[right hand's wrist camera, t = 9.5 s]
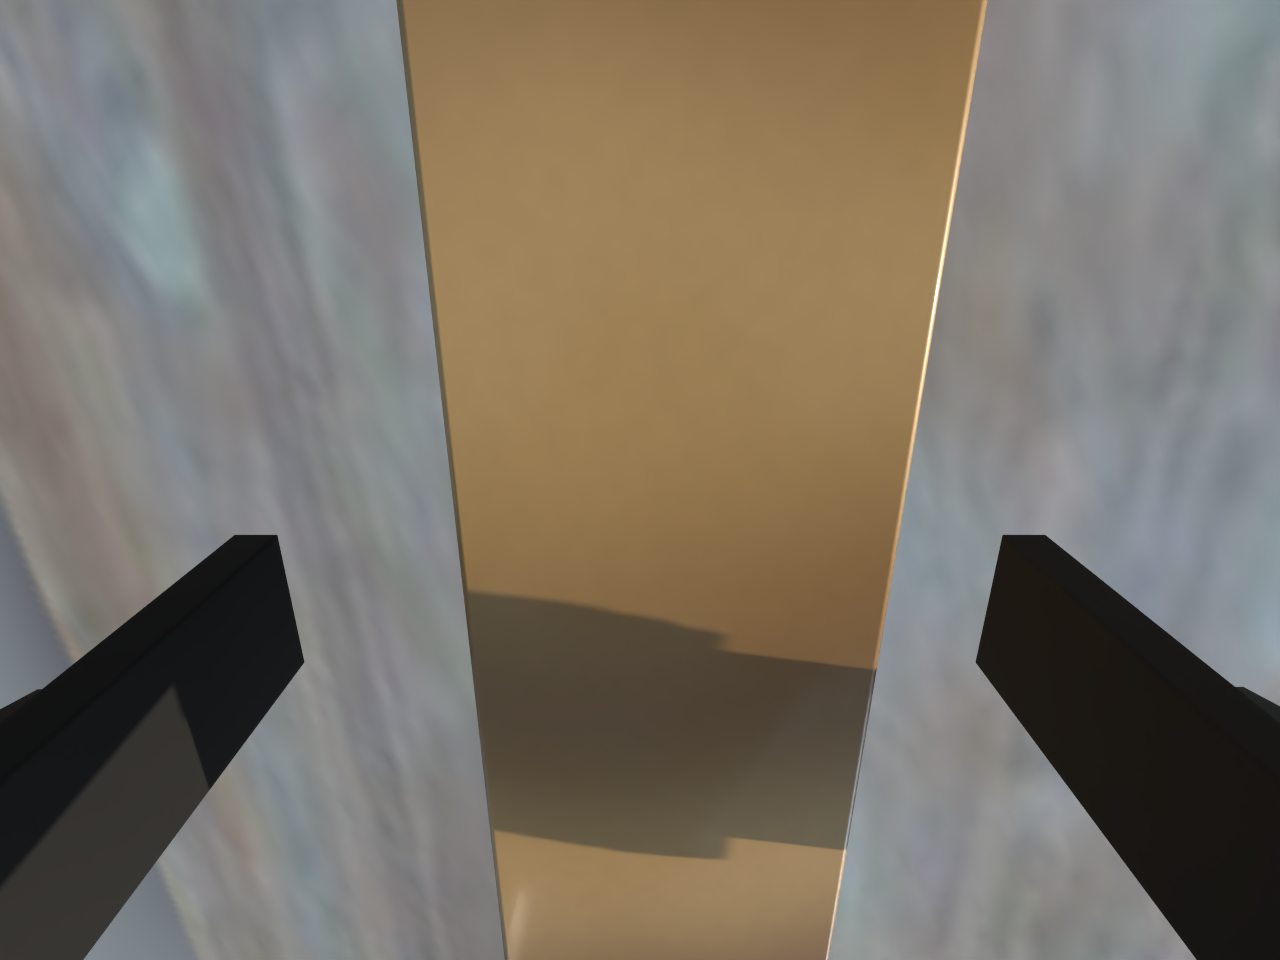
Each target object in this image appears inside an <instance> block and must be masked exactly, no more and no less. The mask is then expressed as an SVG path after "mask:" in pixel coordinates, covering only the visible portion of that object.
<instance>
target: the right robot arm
mask: <svg viewBox="0 0 1280 960" xmlns="http://www.w3.org/2000/svg"><path fill="white" fill-rule="evenodd" d="M303 663H304V658H303V654H302V649H301V644H300V640H299V635H298V630H297V626H296V621H295V616H294V611H293V607H292V602H291V597H290V593H289V588H288V583H287V579H286V574H285V569H284V565H283V560H282V555H281V550H280V546H279V541H278V536H277V535H234V536H233V537H232V538H230V539H229V540H228V541H227V542H225V543H224V544H223V545H222V546H221V547H219V548H218V549H217V550H216V551H214V552H213V553H212V554H211V555H209V556H208V557H207V558H206V559H204V560H203V561H202V562H201V563H199V564H198V565H197V566H196V567H194V568H193V569H192V570H191V571H189V572H188V573H187V574H186V575H184V576H183V577H182V578H181V579H179V580H178V581H177V582H176V583H174V584H173V585H172V586H171V587H169V588H168V589H167V590H166V591H164V592H163V593H162V594H161V595H159V596H158V597H157V598H156V599H154V600H153V601H152V602H151V603H149V604H148V605H147V606H146V607H144V608H143V609H142V610H141V611H139V612H138V613H137V614H136V615H134V616H133V617H132V618H131V619H129V620H128V621H127V622H126V623H124V624H123V625H122V626H121V627H119V628H118V629H117V630H116V631H114V632H113V633H112V634H111V635H109V636H108V637H107V638H106V639H104V640H103V641H102V642H101V643H99V644H98V645H97V646H96V647H94V648H93V649H92V650H91V651H89V652H88V653H87V654H86V655H84V656H83V657H82V658H81V659H79V660H78V661H77V662H76V663H74V664H73V665H72V666H71V667H69V668H68V669H67V670H66V671H64V672H63V673H62V674H61V675H59V676H58V677H57V678H56V679H54V680H53V681H52V682H51V683H49V684H48V685H47V686H46V687H44V688H43V689H38V690H36V691H34V692H32V693H30V694H28V695H26V696H25V697H23V698H21V699H19V700H17V701H15V702H13V703H11V704H9V705H8V706H6V707H4V708H2V709H0V960H83V959H84V958H85V957H86V955H87V954H88V953H89V951H90V950H91V949H92V947H93V946H94V945H95V943H96V942H97V941H98V939H99V938H100V936H101V935H102V934H103V932H104V931H105V930H106V928H107V927H108V926H109V924H110V923H111V922H112V920H113V919H114V918H115V916H116V915H117V914H118V912H119V911H120V910H121V908H122V907H123V906H124V904H125V903H126V901H127V900H128V899H129V897H130V896H131V895H132V893H133V892H134V891H135V889H136V888H137V887H138V885H139V884H140V883H141V881H142V880H143V879H144V877H145V876H146V875H147V873H148V872H149V871H150V869H151V868H152V867H153V865H154V864H155V862H156V861H157V860H158V858H159V857H160V856H161V854H162V853H163V852H164V850H165V849H166V848H167V846H168V845H169V844H170V842H171V841H172V840H173V838H174V837H175V836H176V834H177V833H178V832H179V830H180V829H181V827H182V826H183V825H184V823H185V822H186V821H187V819H188V818H189V817H190V815H191V814H192V813H193V811H194V810H195V809H196V807H197V806H198V805H199V803H200V802H201V801H202V799H203V798H204V797H205V795H206V794H207V793H208V791H209V790H210V788H211V787H212V786H213V784H214V783H215V782H216V780H217V779H218V778H219V776H220V775H221V774H222V772H223V771H224V770H225V768H226V767H227V766H228V764H229V763H230V762H231V760H232V759H233V758H234V756H235V755H236V753H237V752H238V751H239V749H240V748H241V747H242V745H243V744H244V743H245V741H246V740H247V739H248V737H249V736H250V735H251V733H252V732H253V731H254V729H255V728H256V727H257V725H258V724H259V723H260V721H261V720H262V719H263V717H264V716H265V714H266V713H267V712H268V710H269V709H270V708H271V706H272V705H273V704H274V702H275V701H276V700H277V698H278V697H279V696H280V694H281V693H282V692H283V690H284V689H285V688H286V686H287V685H288V684H289V682H290V681H291V679H292V678H293V677H294V675H295V674H296V673H297V671H298V670H299V669H300V667H301V666H302V665H303ZM976 663H977V665H978V666H979V667H980V669H981V670H982V671H983V673H984V674H985V675H986V677H987V678H988V679H989V681H990V682H991V684H992V685H993V686H994V688H995V689H996V690H997V692H998V693H999V694H1000V696H1001V697H1002V698H1003V700H1004V701H1005V702H1006V704H1007V705H1008V706H1009V708H1010V709H1011V710H1012V712H1013V713H1014V714H1015V716H1016V717H1017V719H1018V720H1019V721H1020V723H1021V724H1022V725H1023V727H1024V728H1025V729H1026V731H1027V732H1028V733H1029V735H1030V736H1031V737H1032V739H1033V740H1034V741H1035V743H1036V744H1037V745H1038V747H1039V748H1040V749H1041V751H1042V752H1043V753H1044V755H1045V756H1046V758H1047V759H1048V760H1049V762H1050V763H1051V764H1052V766H1053V767H1054V768H1055V770H1056V771H1057V772H1058V774H1059V775H1060V776H1061V778H1062V779H1063V780H1064V782H1065V783H1066V784H1067V786H1068V787H1069V788H1070V790H1071V791H1072V793H1073V794H1074V795H1075V797H1076V798H1077V799H1078V801H1079V802H1080V803H1081V805H1082V806H1083V807H1084V809H1085V810H1086V811H1087V813H1088V814H1089V815H1090V817H1091V818H1092V819H1093V821H1094V822H1095V823H1096V825H1097V826H1098V827H1099V829H1100V830H1101V832H1102V833H1103V834H1104V836H1105V837H1106V838H1107V840H1108V841H1109V842H1110V844H1111V845H1112V846H1113V848H1114V849H1115V850H1116V852H1117V853H1118V854H1119V856H1120V857H1121V858H1122V860H1123V861H1124V862H1125V864H1126V865H1127V867H1128V868H1129V869H1130V871H1131V872H1132V873H1133V875H1134V876H1135V877H1136V879H1137V880H1138V881H1139V883H1140V884H1141V885H1142V887H1143V888H1144V889H1145V891H1146V892H1147V893H1148V895H1149V896H1150V897H1151V899H1152V900H1153V901H1154V903H1155V904H1156V906H1157V907H1158V908H1159V910H1160V911H1161V912H1162V914H1163V915H1164V916H1165V918H1166V919H1167V920H1168V922H1169V923H1170V924H1171V926H1172V927H1173V928H1174V930H1175V931H1176V932H1177V934H1178V935H1179V936H1180V938H1181V939H1182V941H1183V942H1184V943H1185V945H1186V946H1187V947H1188V949H1189V950H1190V951H1191V953H1192V954H1193V955H1194V957H1195V958H1196V959H1197V960H1280V706H1278V705H1276V704H1274V703H1273V702H1271V701H1269V700H1267V699H1265V698H1263V697H1261V696H1259V695H1257V694H1256V693H1254V692H1252V691H1250V690H1248V689H1246V688H1244V687H1234V686H1233V685H1232V684H1231V683H1229V682H1228V681H1227V680H1226V679H1224V678H1223V677H1222V676H1221V675H1219V674H1218V673H1217V672H1216V671H1214V670H1213V669H1212V668H1211V667H1209V666H1208V665H1207V664H1206V663H1204V662H1203V661H1202V660H1201V659H1199V658H1198V657H1197V656H1196V655H1194V654H1193V653H1192V652H1191V651H1189V650H1188V649H1187V648H1186V647H1184V646H1183V645H1182V644H1181V643H1179V642H1178V641H1177V640H1176V639H1174V638H1173V637H1172V636H1171V635H1169V634H1168V633H1167V632H1166V631H1164V630H1163V629H1162V628H1161V627H1159V626H1158V625H1157V624H1156V623H1154V622H1153V621H1152V620H1151V619H1149V618H1148V617H1147V616H1146V615H1144V614H1143V613H1142V612H1141V611H1139V610H1138V609H1137V608H1136V607H1134V606H1133V605H1132V604H1131V603H1129V602H1128V601H1127V600H1126V599H1124V598H1123V597H1122V596H1121V595H1119V594H1118V593H1117V592H1116V591H1114V590H1113V589H1112V588H1111V587H1109V586H1108V585H1107V584H1106V583H1104V582H1103V581H1102V580H1101V579H1099V578H1098V577H1097V576H1096V575H1094V574H1093V573H1092V572H1091V571H1089V570H1088V569H1087V568H1086V567H1084V566H1083V565H1082V564H1081V563H1079V562H1078V561H1077V560H1076V559H1074V558H1073V557H1072V556H1071V555H1069V554H1068V553H1067V552H1066V551H1064V550H1063V549H1062V548H1061V547H1059V546H1058V545H1057V544H1056V543H1055V542H1053V541H1052V540H1051V539H1050V538H1048V537H1047V536H1046V535H1003V536H1002V541H1001V546H1000V550H999V555H998V560H997V565H996V569H995V574H994V579H993V583H992V588H991V593H990V597H989V602H988V607H987V611H986V616H985V621H984V626H983V630H982V635H981V640H980V644H979V649H978V654H977V658H976Z"/></svg>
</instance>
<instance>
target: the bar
mask: <svg viewBox="0 0 1280 960" xmlns="http://www.w3.org/2000/svg"><path fill="white" fill-rule="evenodd" d="M986 6H987V0H397V9H398V18H399V27H400V35H401V44H402V53H403V62H404V71H405V80H406V89H407V97H408V106H409V115H410V124H411V133H412V142H413V151H414V159H415V168H416V177H417V186H418V195H419V204H420V213H421V221H422V230H423V239H424V248H425V257H426V266H427V275H428V283H429V292H430V301H431V310H432V319H433V328H434V336H435V345H436V354H437V363H438V372H439V381H440V390H441V398H442V407H443V416H444V425H445V434H446V443H447V452H448V460H449V469H450V478H451V487H452V496H453V505H454V514H455V522H456V531H457V540H458V549H459V558H460V567H461V576H462V584H463V593H464V602H465V611H466V620H467V629H468V637H469V646H470V655H471V664H472V673H473V682H474V691H475V699H476V708H477V717H478V726H479V735H480V744H481V753H482V761H483V770H484V779H485V788H486V797H487V806H488V815H489V823H490V832H491V841H492V850H493V859H494V868H495V877H496V885H497V894H498V903H499V912H500V921H501V930H502V938H503V947H504V956H505V960H828V959H829V953H830V947H831V941H832V935H833V929H834V923H835V917H836V911H837V905H838V899H839V893H840V887H841V881H842V875H843V869H844V863H845V857H846V851H847V845H848V839H849V833H850V827H851V821H852V815H853V808H854V802H855V796H856V790H857V784H858V778H859V772H860V766H861V760H862V754H863V748H864V742H865V736H866V730H867V724H868V718H869V712H870V706H871V700H872V694H873V688H874V682H875V676H876V670H877V664H878V658H879V652H880V646H881V640H882V634H883V627H884V621H885V615H886V609H887V603H888V597H889V591H890V585H891V579H892V573H893V567H894V561H895V555H896V549H897V543H898V537H899V531H900V525H901V519H902V513H903V507H904V501H905V495H906V489H907V483H908V477H909V471H910V465H911V459H912V453H913V446H914V440H915V434H916V428H917V422H918V416H919V410H920V404H921V398H922V392H923V386H924V380H925V374H926V368H927V362H928V356H929V350H930V344H931V338H932V332H933V326H934V320H935V314H936V308H937V302H938V296H939V290H940V284H941V278H942V272H943V265H944V259H945V253H946V247H947V241H948V235H949V229H950V223H951V217H952V211H953V205H954V199H955V193H956V187H957V181H958V175H959V169H960V163H961V157H962V151H963V145H964V139H965V133H966V127H967V121H968V115H969V109H970V103H971V97H972V91H973V85H974V78H975V72H976V66H977V60H978V54H979V48H980V42H981V36H982V30H983V24H984V18H985V12H986Z"/></svg>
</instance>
